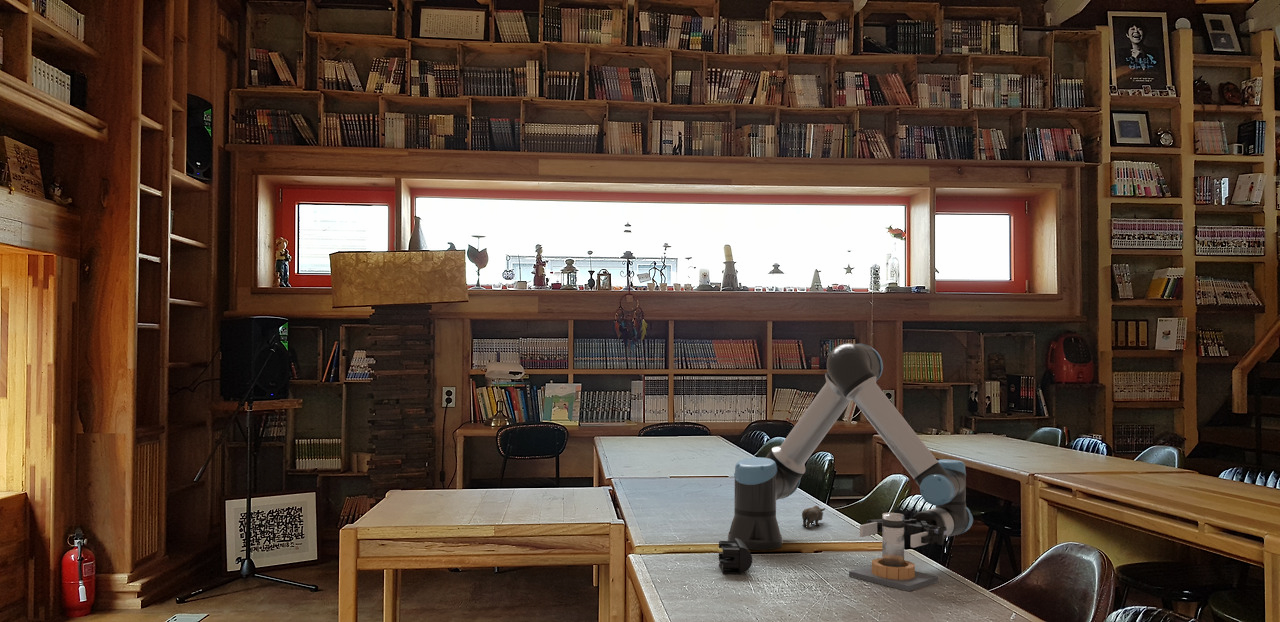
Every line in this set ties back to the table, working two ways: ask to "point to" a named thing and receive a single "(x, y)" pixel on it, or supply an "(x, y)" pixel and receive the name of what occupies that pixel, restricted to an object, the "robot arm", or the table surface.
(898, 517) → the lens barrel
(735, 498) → the robot arm
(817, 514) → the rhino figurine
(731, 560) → the end cap
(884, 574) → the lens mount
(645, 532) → the table surface
